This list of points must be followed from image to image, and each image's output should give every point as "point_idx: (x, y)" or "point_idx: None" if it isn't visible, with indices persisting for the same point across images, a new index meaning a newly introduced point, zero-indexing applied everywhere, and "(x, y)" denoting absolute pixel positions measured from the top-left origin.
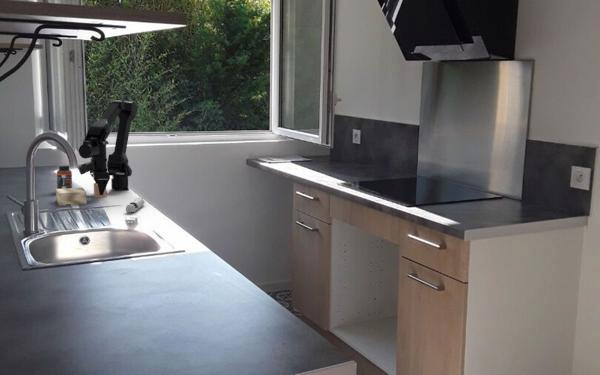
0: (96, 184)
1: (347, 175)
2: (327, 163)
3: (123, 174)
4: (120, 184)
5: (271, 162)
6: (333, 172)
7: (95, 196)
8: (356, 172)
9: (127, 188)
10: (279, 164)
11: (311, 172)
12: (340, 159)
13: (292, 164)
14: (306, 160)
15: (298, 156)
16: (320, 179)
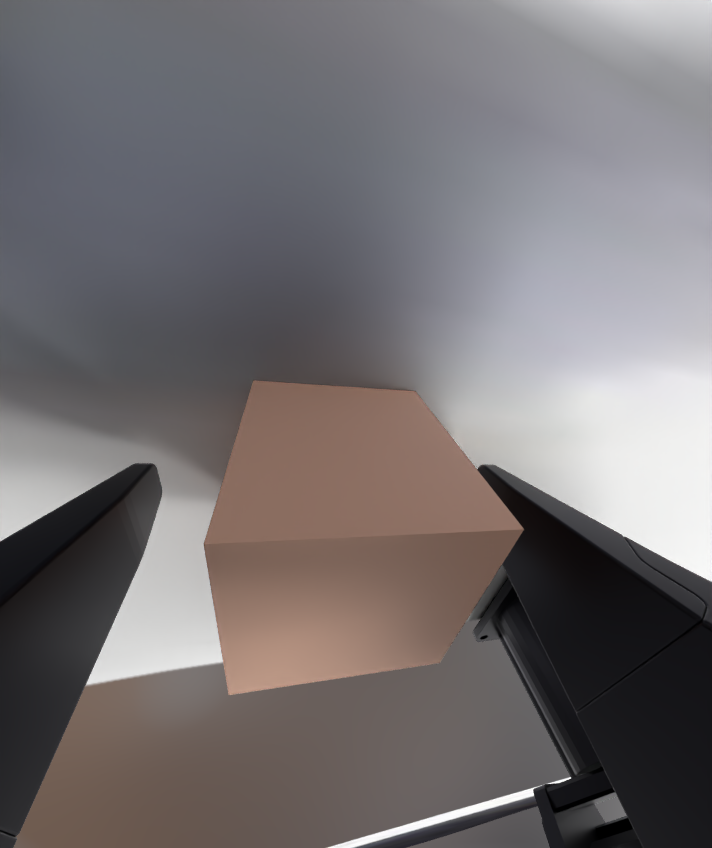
0: (326, 577)
1: (382, 843)
2: (513, 808)
3: (598, 799)
4: (529, 653)
5: None
6: (424, 830)
7: (254, 391)
8: (404, 840)
9: (496, 635)
10: None
11: (446, 819)
12: (531, 807)
13: None
14: None
15: None
16: (360, 841)
